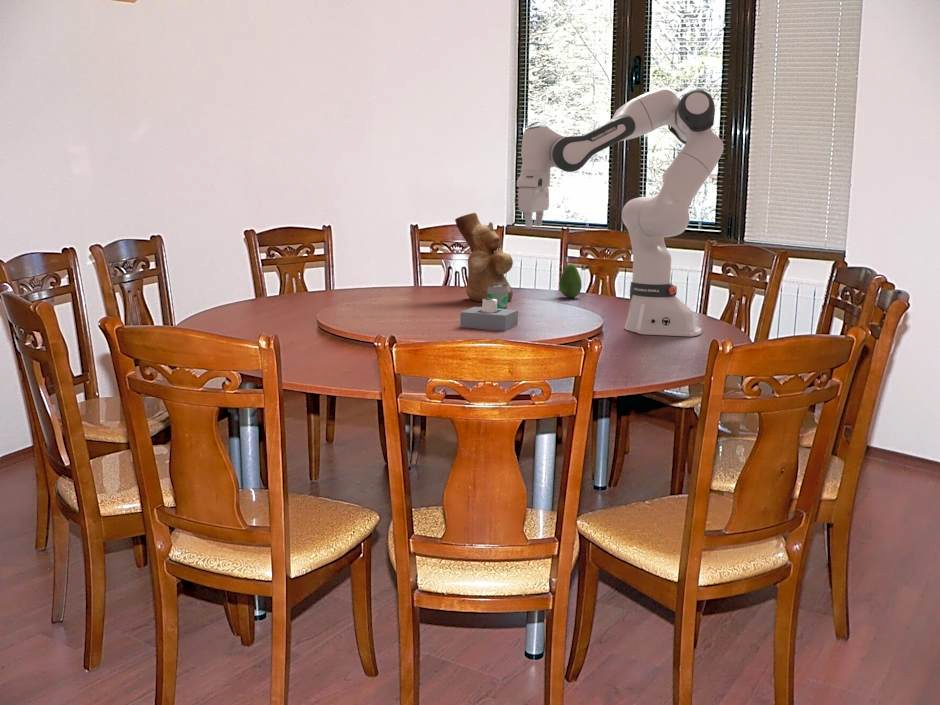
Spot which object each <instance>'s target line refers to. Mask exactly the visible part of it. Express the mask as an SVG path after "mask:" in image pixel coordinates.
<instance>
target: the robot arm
mask: <svg viewBox="0 0 940 705" xmlns="http://www.w3.org/2000/svg"><path fill="white" fill-rule="evenodd" d="M715 105H716V104H715V102H714V99H713V97H712V96H711V94H710V93H709V92H708V91H705V90H703V89H693V90H690V91H688V92H686V93H685V94H684V95H682V97H681V98H679V97H678V96H677V94H676V92H674V91H673V90H672V89H671V88H668V87H661V88H657V89H653V90H651V91H648V92H645V93H643V94H641V95H638V96H636V97H634V98H632V99H630V100H629V101H626V103H624V104H623V105H621V106H620V107H619V108H617V109H616V110H615V112H614V114H613V116H612V118H611V119H610V120H608V121H607V122H606V123H605V124H603V125H601V126H599V127H597V128H594V129H593V130H591V131H589V132H587V133H586V134H583V135H578V136H577V135H574V136H573V135H571V136H567V135H564V134H561V133H560V132H558V131H556V130H555V129H553V128H552V127H551V126H549V125H547V124H540V125H534V126H529V127H528V128H526V129H525V130H524V131H523V135H522V139H521V140H522V141H521V151H520V152H521V153H520V155H521V161H522V162H521V163H522V164H521V167H520V175H519V177H518V178H517V180H516V187H518V189H517V190H518V191H517V200H518V201H517V203H518V204H517V205H518V211H519V213H522V214H523V213H524V220H525V228H527V229H530V228H533V226H535V227H541V226H542V224H543V221H542V220H543V218H544V213H545V212H544V211H548V210H549V207H550V190H549V187H550V186H551V168H552V167H553V168H554V167H555V168H557V169H559V170H561V171H564V172H568V173H572V172H577V171H579V170H580V169H581V168H583V167H584V166H585V165H586V164H587V162H588V161H589V160H590V159H591V158H592V157H593V156H594V155H596V154H597V153H599V152H601V151H603V150H606V149H607V148H609V147H611V146H614V144H617V143H619V142H623V141H628V140H633V139H636V138H639V137H643V136H645V135H647V134H649V133H651V132H653V131H655V130H656V129H659V128H661V127H663V126H664V127H665V126H667V127H668V130H669V132H670V133H671V134H673V135H674V136H675V137H676V139H677V140H678V142H680V143H682V144H683V145H684V146H683V147H682V148H681V150H680V151H679V153H678V154H677V155H676V157H674V159H673V161H672V162H671V164H670V165H669V166H668V167H667V168H666V169H665V171H664V172H663V174H662V186H661V188H660V191H659V193H658V194H656V196H654V197H651V196H640V197H635V198H632V199H630V200H629V201H627V202H626V203H625V204H624V206H623V208H622V211H621V220H622V223H623V225H624V226H625V227H626V229H627V231H628V236H629V239H630V244H631V251H632V278H631V279H632V281H631V282H630V286H629V301H630V304H629V309H628V315H627V319H626V321H625V325H624V330H626V331H630V332H633V333H636V334H639V335H648V336H649V335H650V336H669V337H670V336H672V337H673V336H675V337H696V336H699V335H701V334H702V327H699V326H695V324H696V323H695V316H694V313H693V310H692V309H691V308H690V307H689V306H687V305H686V304H685V303H684V301H681V299H679V298H678V297H677V290H678V288H677V285H674V284H673V283H671V273H672V272H671V271H672V256H671V254H670V252H669V250H668V249H667V246H666V243H665V238H671V237H675V236H678V235H681V234H683V233H684V232H685V231H686V229H687V228H688V225H689V224H690V212H689V210H690V207H691V204H692V202H693V199H694V198H695V196H696V194H697V193H698V192H699V191H700V189H701V188H702V186H703V185H704V183H706V182H705V181H706V180H707V179H708V177H709V176H710V175H711V174H712V173H713V171H714V169H715V168H716V166H717V164H718V163H719V160H720V158H721V156H722V155H723V153H724V143H723V140H722V139H721V137H720V136H718V135H717V134H716V133H714V131H713V130H712V127H713V126H714V123H715V114H716V106H715ZM533 213H535V220H534V223H533ZM533 224H534V225H533Z"/></svg>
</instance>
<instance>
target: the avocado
mask: <svg viewBox="0 0 940 705" xmlns="http://www.w3.org/2000/svg"><path fill="white" fill-rule="evenodd" d="M558 282H559V284H558V286H559V290H560V292H561V294H562V295H563V296H564V297H566V298H568V299H574V298H576V297H577V296H578V295H579V294H580V292H581V289H582V279H581V275H580V273H579V270H578V269H577V266H576V265H574V264H568V265H566V266H565V267H564V269H563V270H562V273H561V275H560V278H559V281H558Z"/></svg>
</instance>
